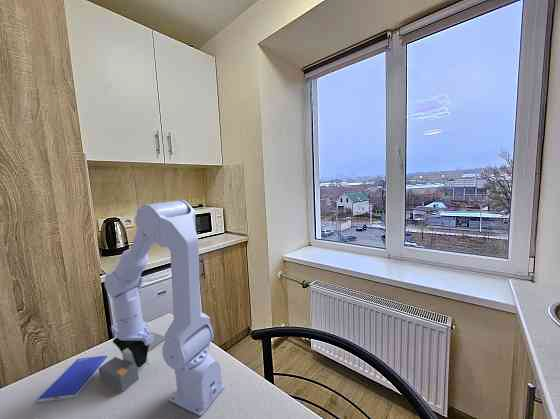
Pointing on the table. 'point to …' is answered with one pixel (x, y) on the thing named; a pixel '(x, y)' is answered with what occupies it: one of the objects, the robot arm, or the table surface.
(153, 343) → the mat
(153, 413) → the table surface
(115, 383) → the power strip
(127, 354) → the block
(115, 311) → the robot arm
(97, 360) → the blue book
